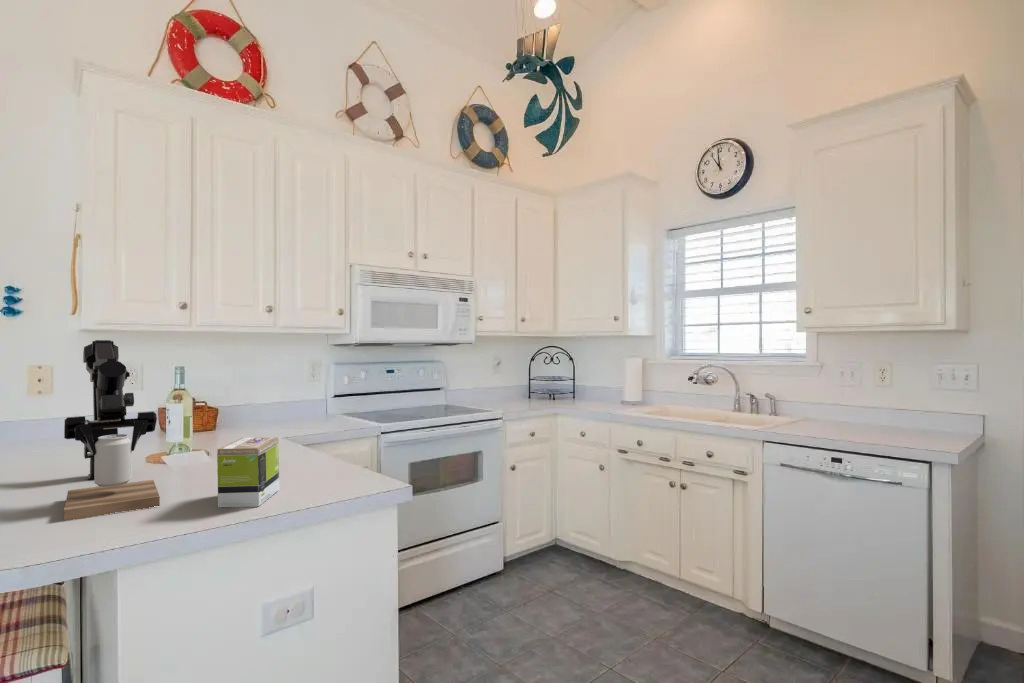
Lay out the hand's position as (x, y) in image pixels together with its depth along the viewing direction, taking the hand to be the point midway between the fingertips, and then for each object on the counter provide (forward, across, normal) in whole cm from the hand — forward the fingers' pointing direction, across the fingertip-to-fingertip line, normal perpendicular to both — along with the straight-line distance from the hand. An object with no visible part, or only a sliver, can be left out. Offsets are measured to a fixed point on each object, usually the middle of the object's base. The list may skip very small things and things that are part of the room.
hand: (113, 452), depth 134 cm
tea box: (+21, +27, -2) cm, 34 cm away
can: (+5, 0, +7) cm, 9 cm away
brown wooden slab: (+9, 0, +10) cm, 14 cm away
